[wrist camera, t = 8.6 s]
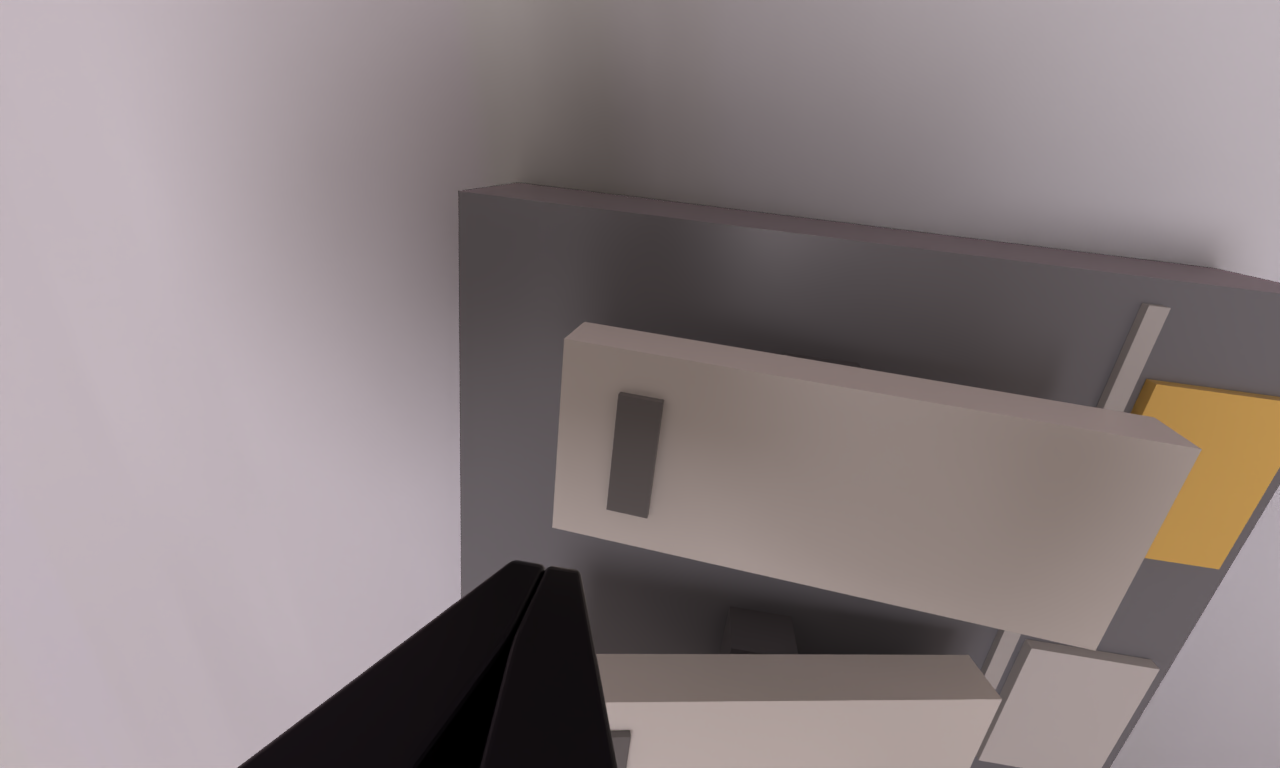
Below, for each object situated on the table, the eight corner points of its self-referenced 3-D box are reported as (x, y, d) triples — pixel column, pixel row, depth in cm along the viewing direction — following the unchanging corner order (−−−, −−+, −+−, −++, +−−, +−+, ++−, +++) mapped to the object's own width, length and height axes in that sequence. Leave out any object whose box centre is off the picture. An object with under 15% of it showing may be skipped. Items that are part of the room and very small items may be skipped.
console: (1216, 268, 15) (1476, 327, 10) (949, 828, 23) (1015, 1016, 18) (517, 182, 16) (428, 195, 11) (500, 745, 24) (446, 900, 19)
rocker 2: (968, 654, 14) (1006, 705, 13) (920, 769, 15) (950, 824, 14) (541, 653, 13) (537, 709, 11) (533, 778, 14) (529, 840, 13)
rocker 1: (1154, 417, 10) (1209, 454, 9) (1064, 603, 11) (1099, 657, 10) (584, 321, 11) (560, 341, 10) (571, 496, 13) (549, 531, 12)
